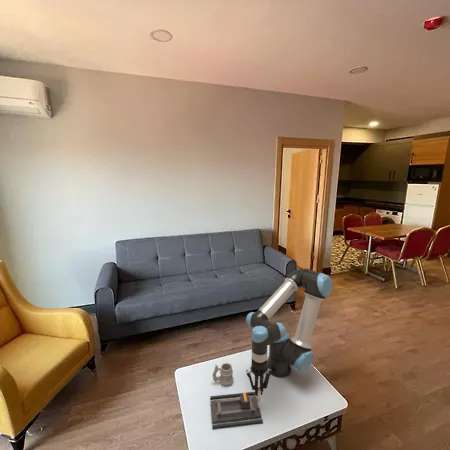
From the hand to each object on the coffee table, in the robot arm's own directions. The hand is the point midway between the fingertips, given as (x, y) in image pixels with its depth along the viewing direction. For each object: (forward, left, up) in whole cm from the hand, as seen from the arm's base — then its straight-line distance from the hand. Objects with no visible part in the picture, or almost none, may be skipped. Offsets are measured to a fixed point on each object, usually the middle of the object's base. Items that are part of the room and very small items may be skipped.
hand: (258, 400), depth 131 cm
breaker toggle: (+7, 0, -3) cm, 7 cm away
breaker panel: (+12, 0, -5) cm, 13 cm away
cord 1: (+12, -9, -5) cm, 15 cm away
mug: (+16, -19, -5) cm, 25 cm away
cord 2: (+12, +8, -5) cm, 15 cm away
